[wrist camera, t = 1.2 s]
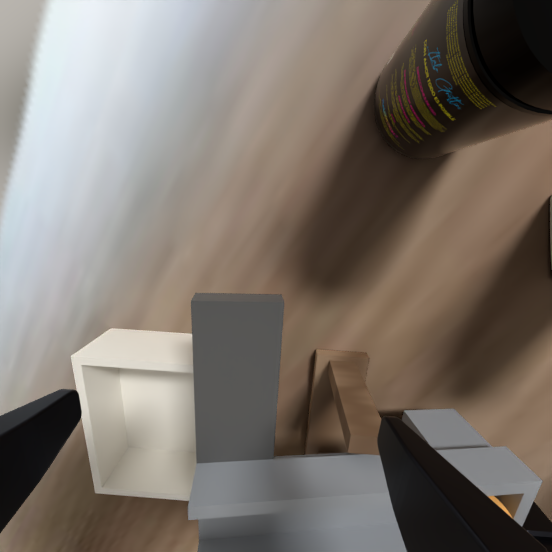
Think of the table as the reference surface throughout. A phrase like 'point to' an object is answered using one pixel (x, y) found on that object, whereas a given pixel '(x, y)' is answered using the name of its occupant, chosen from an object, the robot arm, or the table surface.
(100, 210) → the table surface
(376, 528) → the tipping lever
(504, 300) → the table surface
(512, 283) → the table surface
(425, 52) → the supplement container
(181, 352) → the white open tray
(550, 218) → the skincare box
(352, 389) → the pivot stand
